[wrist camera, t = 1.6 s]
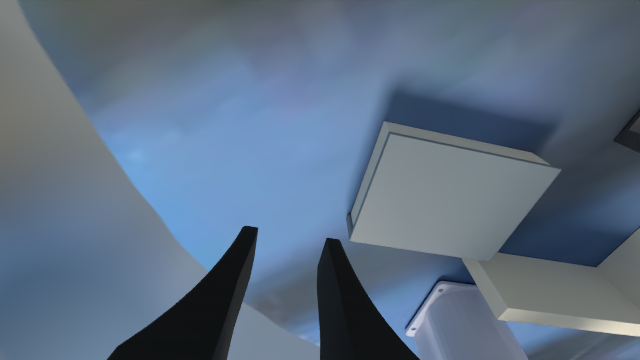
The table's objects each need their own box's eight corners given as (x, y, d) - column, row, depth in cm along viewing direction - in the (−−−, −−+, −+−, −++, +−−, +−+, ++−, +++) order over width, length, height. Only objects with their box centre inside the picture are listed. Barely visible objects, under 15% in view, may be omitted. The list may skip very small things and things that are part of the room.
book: (471, 236, 26) (489, 261, 23) (345, 215, 24) (349, 240, 21) (532, 149, 21) (562, 169, 18) (380, 116, 19) (390, 133, 17)
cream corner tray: (597, 279, 28) (659, 338, 23) (461, 259, 26) (497, 319, 21) (738, 154, 21) (873, 202, 16) (563, 113, 19) (655, 153, 14)
